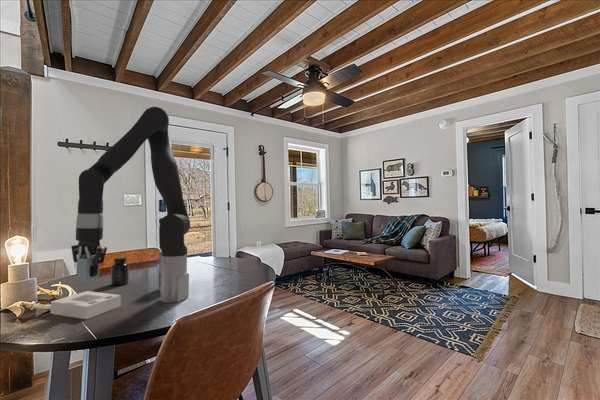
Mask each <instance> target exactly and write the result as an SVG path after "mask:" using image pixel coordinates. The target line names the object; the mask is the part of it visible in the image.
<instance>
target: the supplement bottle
mask: <svg viewBox="0 0 600 400" xmlns="http://www.w3.org/2000/svg"><path fill="white" fill-rule="evenodd" d="M113 259H114V261H113V263H114V264H112V265H111V268H110V269H111V270H110V272H111V273H110V285H111V286H114V287H117V286H118V287H119V286H125V285H127V284H129V280H130V279H129V278H130V274H129V273H130V265H129V263H127V257H126V256H123V257H116V258H113Z"/></svg>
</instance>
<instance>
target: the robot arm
mask: <svg viewBox="0 0 600 400" xmlns="http://www.w3.org/2000/svg"><path fill="white" fill-rule="evenodd" d="M169 125H170V117H169V115H168V113H167V111H165V110H164V109H163V108H161V107H158V106H151V107H149V108H146V109H145V111H143V113H142V114H141V116H140V117H139V119H137V121H136V122H135V123H134V125H132V127H131V128H130V129H129V130H128V131H127V132H126V133H125V134H124V135H123V136H122V137H121V138H119V140H117V141H116V142H115V143H114V144H113V145H112V146H111V147H110V148H108V149H107V150H106V151H105V152H104V153H102V155H101V156H100V157H99V158H98V159H97V161H96V162H94V164H92V165H91V166H90V167H89V168H88V169H87V168H86V169H85V170H83V171H81V173H79V176H78V196H79V197H78V204H77V216H76V222H75V225H76V226H75V240H76V241H77V242H78V243H77V244H75V245H71V247H70V248H71V254H72V260H73V262H74V263H77V258H84V257H86V256H87V259H90V277H93V276H97V273H98V265H99V266H100V265H101V264H103V263H104V261H105V257H106V253H107V250H108V247H107V246H102V245H101V243H100V241H101V240H102V239H103V236H104V235H103V234H104V215H103V214H104V213H103V212H104V200H103V197H104V187H105V186H104V185H105V184H106V182H107V181H109V180H110V178H112V176H113V175H114V174H115V173H117V172H118V171H119V170H120V169H121V168H123V166H125V165H126V164H127V163H128V162H129V161H130V160H131V159H132V158H133V157H134V155H135V154H136V153H137V152H138V150H139V149H140V147H142V145H143V144H144V143H145V142H146V141H147V140H148V141H147V142H148V145H149V149H150V163H151V165H150V166H151V170H152V176H153V181H154V184H155V186H156V189H157V190H158V193H159V194H160V196H161V197H162V200H163V201H164V204H165V207H166V215H165V216H163V217H162V219H161V220H160V223H159V227H158V229H159V231H158V235H159V236H158V237H159V239H158V242H159V249H160V253H161V291H159V292H160V299H159V301H160V302H161V303H167V304H170V303H180V302H182V301H184V300H186V299H188V298H189V294H190V293H189V291H190V290H189V289H190V288H189V287H190V274H189V273H188V247H187V246H186V244H185V235H186V234H187V233H189V231H190V227H191V220H190V218H189V214H188V211H187V208H186V205H185V201H184V196H183V189H182V184H181V179H180V171H179V168H178V165H177V161H176V158H175V156H174V153H173V151H172V148H171V146H170V145H171V144H170V138H169ZM94 258H95V261H93V259H94ZM99 258H100V260H99Z"/></svg>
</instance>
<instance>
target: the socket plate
mask: <svg viewBox="0 0 600 400" xmlns="http://www.w3.org/2000/svg"><path fill="white" fill-rule="evenodd" d="M121 301H122V294H117V293H115V294H113V293H106V292H97V291H91V290H87V291H82V292H79V293H76V294H72V295H68V296H65V297H62V298H59V299H55V300H52V301H50V314H52V315H57V316H64V317H68V318H76V319H82V320H89V319H91V318H94V317H97V316H99V315H102V314H104V313H106V312H110V311H112V310H114V309H117V308H120V307H121V305H122V302H121Z"/></svg>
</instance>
